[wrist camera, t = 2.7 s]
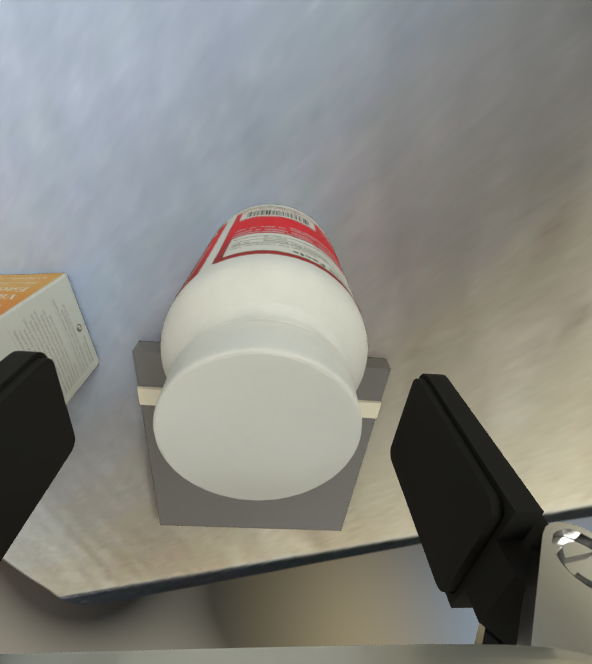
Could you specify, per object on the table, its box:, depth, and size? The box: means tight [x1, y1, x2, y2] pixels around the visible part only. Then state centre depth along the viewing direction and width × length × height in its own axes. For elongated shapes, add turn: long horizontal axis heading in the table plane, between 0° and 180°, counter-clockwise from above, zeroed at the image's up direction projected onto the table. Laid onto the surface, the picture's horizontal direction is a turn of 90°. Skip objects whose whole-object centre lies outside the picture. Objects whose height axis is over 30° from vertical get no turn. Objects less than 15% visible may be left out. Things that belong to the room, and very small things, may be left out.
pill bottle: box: [153, 204, 368, 501], centre depth 12 cm, size 6×6×11 cm
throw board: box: [133, 341, 390, 531], centre depth 23 cm, size 16×14×1 cm
